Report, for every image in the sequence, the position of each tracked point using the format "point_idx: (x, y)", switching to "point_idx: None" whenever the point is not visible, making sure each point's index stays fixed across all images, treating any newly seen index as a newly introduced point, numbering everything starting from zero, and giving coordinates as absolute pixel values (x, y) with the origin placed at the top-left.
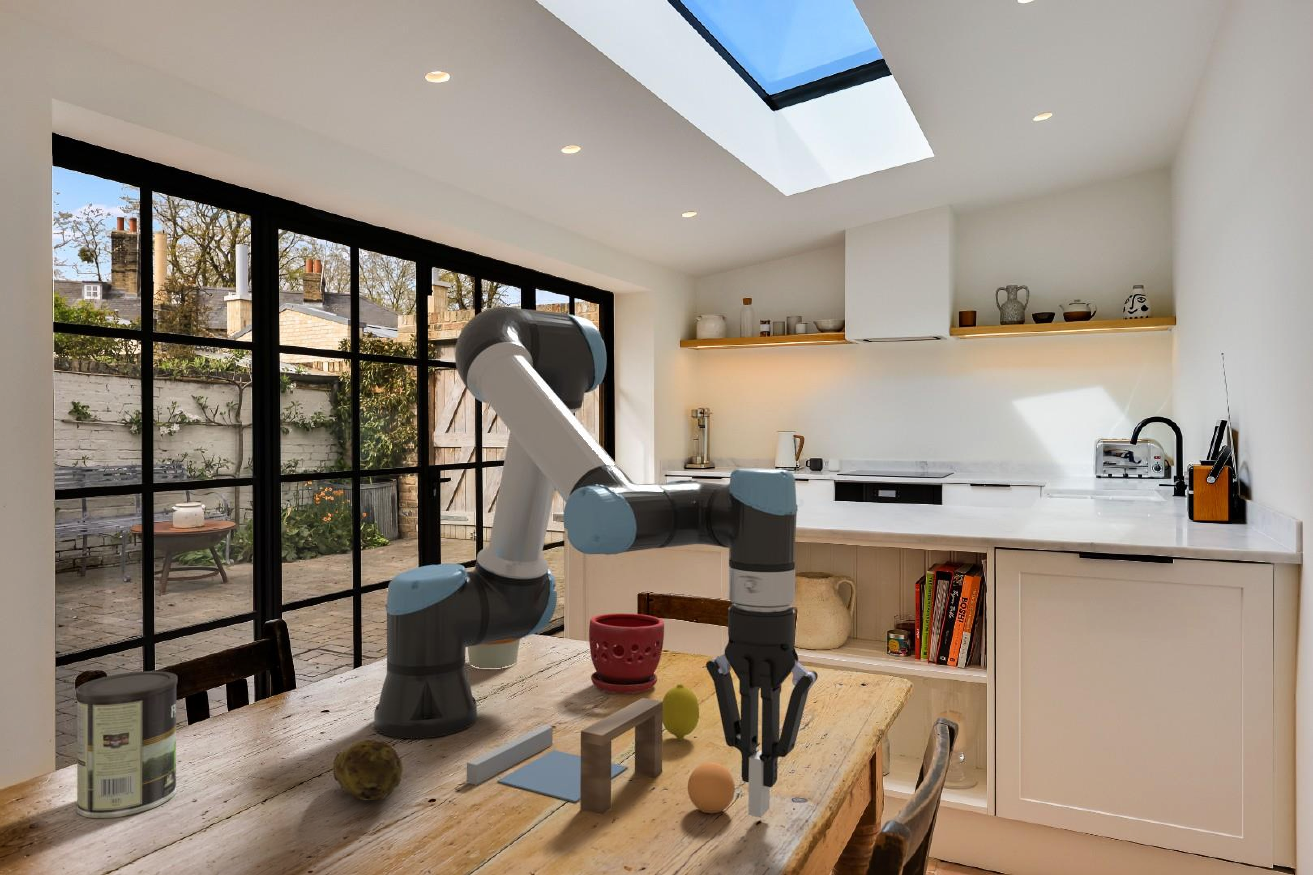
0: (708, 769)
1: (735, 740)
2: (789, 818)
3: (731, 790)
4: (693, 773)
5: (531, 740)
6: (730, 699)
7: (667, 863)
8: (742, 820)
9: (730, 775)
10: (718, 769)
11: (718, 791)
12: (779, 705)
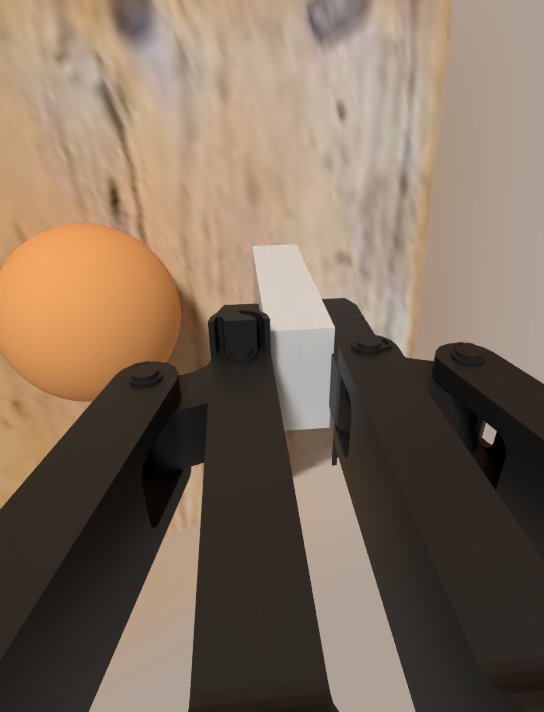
0: (81, 385)
1: (189, 474)
2: (348, 198)
3: (178, 321)
4: (26, 380)
5: None
6: (64, 689)
7: (184, 526)
8: (225, 288)
9: (148, 306)
10: (112, 363)
11: None
12: (534, 551)
